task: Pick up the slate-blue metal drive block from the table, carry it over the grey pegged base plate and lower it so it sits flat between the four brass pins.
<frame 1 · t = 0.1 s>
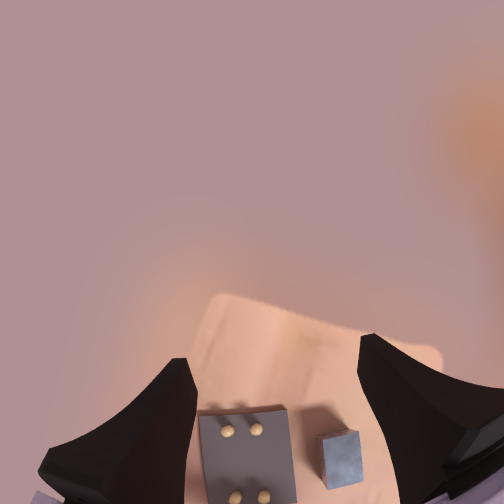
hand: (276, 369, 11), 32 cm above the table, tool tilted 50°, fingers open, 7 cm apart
grey pegged base plate: (247, 461, 32), on the table
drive: (335, 455, 32), on the table
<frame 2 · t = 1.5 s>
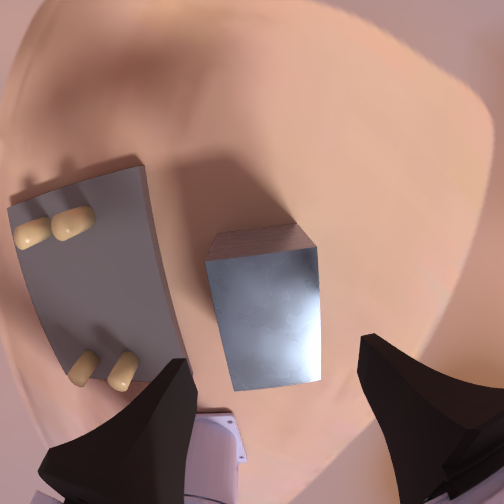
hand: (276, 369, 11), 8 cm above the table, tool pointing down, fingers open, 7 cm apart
grey pegged base plate: (91, 291, 19), on the table
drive: (264, 286, 19), on the table
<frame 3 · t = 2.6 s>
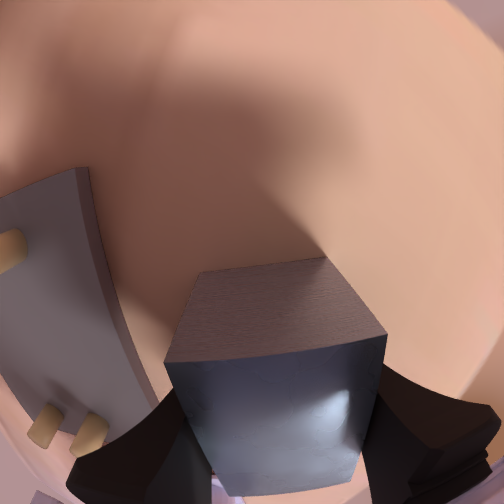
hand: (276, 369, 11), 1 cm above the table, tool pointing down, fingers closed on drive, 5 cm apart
grey pegged base plate: (41, 338, 12), on the table
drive: (273, 348, 12), on the table, touching gripper
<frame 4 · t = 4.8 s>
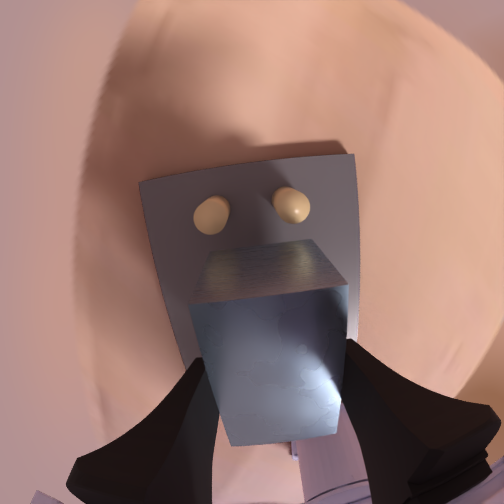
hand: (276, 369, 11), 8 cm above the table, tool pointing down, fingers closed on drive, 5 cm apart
grey pegged base plate: (261, 286, 19), on the table
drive: (269, 316, 15), point 4 cm above the table, touching gripper
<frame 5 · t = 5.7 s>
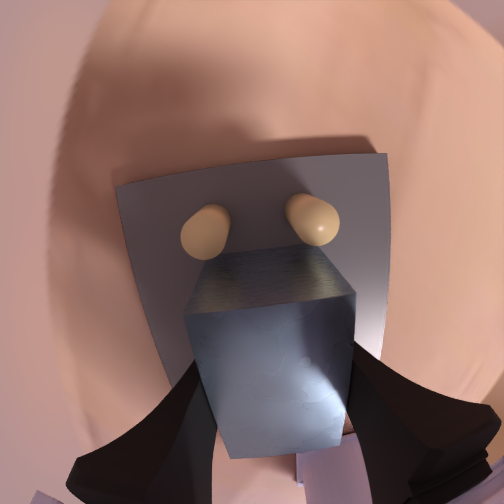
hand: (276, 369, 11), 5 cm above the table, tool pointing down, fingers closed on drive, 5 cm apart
grey pegged base plate: (269, 314, 15), on the table
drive: (270, 323, 14), point 1 cm above the table, touching gripper, grey pegged base plate
when the fingers open (4 cm above the table, at t = 6.4 s): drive stays where it is, resting on grey pegged base plate.
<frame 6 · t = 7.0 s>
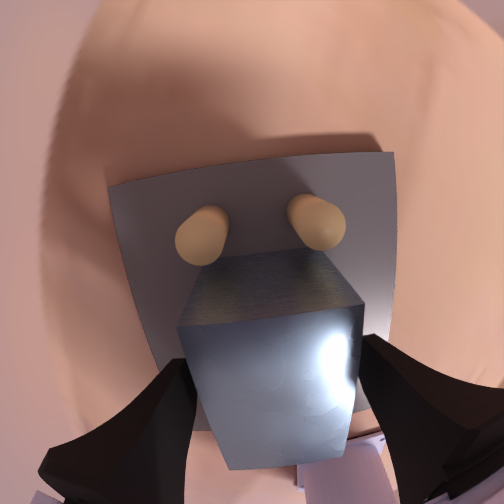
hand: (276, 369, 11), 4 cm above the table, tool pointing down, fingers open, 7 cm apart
grey pegged base plate: (269, 320, 14), on the table
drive: (270, 330, 13), point 1 cm above the table, touching grey pegged base plate
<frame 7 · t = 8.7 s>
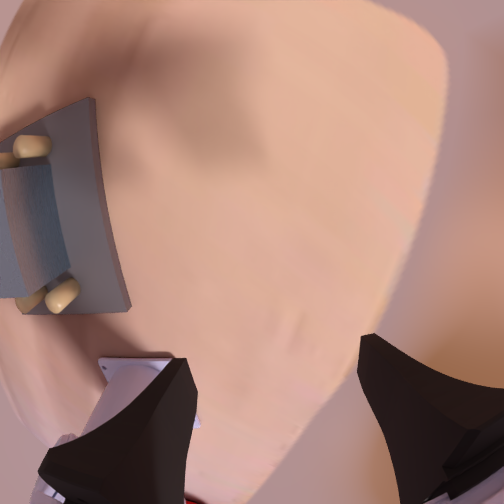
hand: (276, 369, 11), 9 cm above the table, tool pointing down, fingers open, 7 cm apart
grey pegged base plate: (45, 219, 18), on the table
tomato: (186, 502, 33), on the table
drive: (38, 222, 17), point 1 cm above the table, touching grey pegged base plate
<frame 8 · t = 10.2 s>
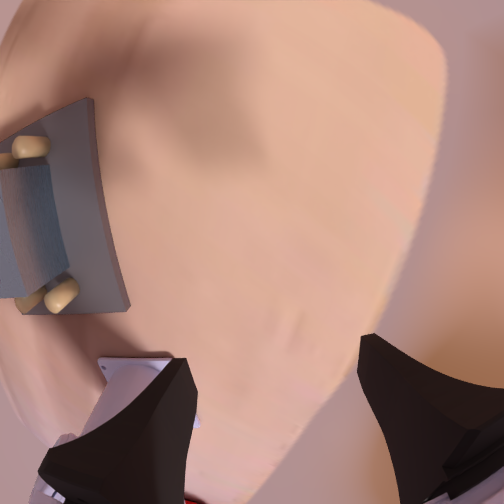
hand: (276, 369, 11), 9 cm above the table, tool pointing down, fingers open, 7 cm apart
grey pegged base plate: (44, 220, 18), on the table
tomato: (186, 502, 33), on the table
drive: (37, 222, 17), point 1 cm above the table, touching grey pegged base plate
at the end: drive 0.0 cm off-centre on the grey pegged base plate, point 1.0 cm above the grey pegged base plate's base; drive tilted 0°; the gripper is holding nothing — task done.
